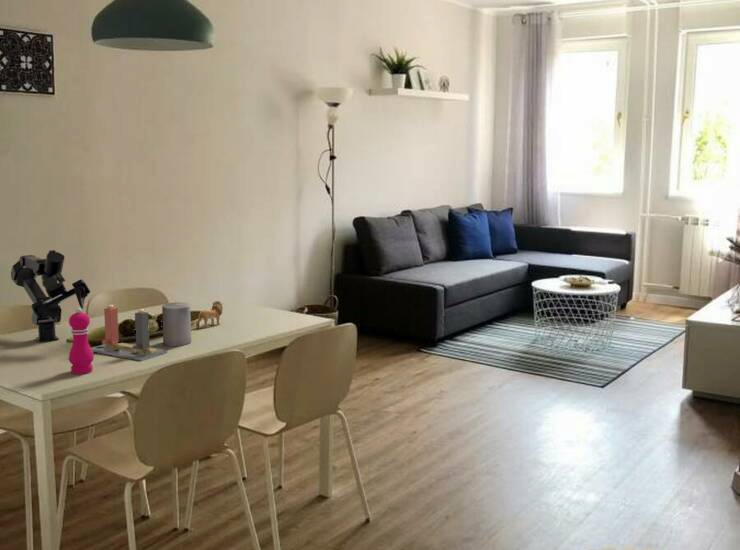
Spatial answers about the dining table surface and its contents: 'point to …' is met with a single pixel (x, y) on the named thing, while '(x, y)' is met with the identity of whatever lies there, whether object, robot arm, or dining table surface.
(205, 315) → the lion figurine
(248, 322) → the dining table surface
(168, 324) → the pillar candle
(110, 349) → the bolt plate
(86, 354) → the pepper mill
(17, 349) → the dining table surface
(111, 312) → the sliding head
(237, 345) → the dining table surface
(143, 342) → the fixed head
